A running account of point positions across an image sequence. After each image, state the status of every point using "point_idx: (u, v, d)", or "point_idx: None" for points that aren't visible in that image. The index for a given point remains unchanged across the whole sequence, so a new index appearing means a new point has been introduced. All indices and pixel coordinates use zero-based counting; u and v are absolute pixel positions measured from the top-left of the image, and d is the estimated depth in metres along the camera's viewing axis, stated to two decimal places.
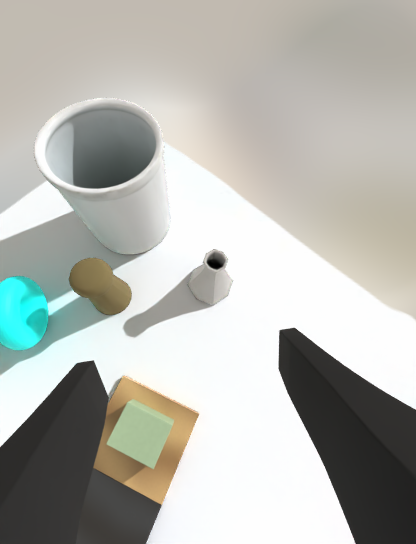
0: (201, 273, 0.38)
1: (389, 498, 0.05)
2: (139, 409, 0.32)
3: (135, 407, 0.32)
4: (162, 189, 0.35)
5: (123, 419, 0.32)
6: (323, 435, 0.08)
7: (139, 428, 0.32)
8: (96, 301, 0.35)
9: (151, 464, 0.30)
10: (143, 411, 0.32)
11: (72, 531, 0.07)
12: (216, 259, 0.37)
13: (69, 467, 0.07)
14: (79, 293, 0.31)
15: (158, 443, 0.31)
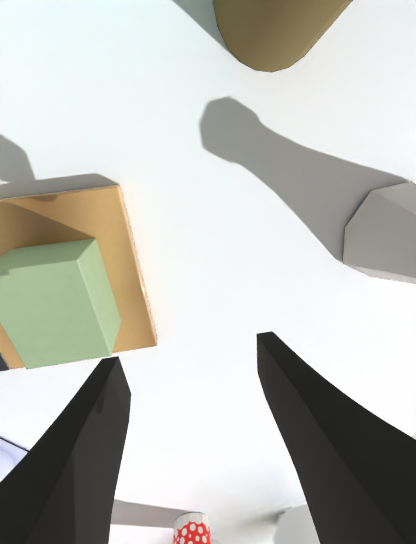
0: None
1: (346, 507, 0.05)
2: (85, 291, 0.14)
3: (82, 281, 0.13)
4: None
5: (41, 274, 0.13)
6: (294, 440, 0.08)
7: (57, 311, 0.14)
8: None
9: (29, 362, 0.15)
10: (89, 299, 0.14)
11: (106, 524, 0.07)
12: None
13: (101, 461, 0.07)
14: None
15: (66, 354, 0.15)
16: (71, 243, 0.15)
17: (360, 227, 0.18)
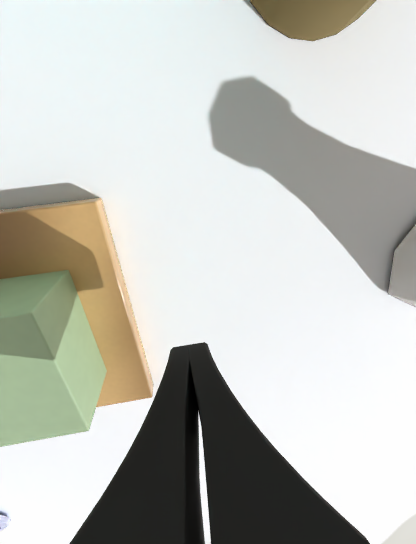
0: None
1: None
2: (47, 354, 0.09)
3: (41, 341, 0.09)
4: None
5: None
6: None
7: (8, 381, 0.10)
8: None
9: None
10: (53, 365, 0.10)
11: (200, 505, 0.07)
12: None
13: (193, 444, 0.07)
14: None
15: (26, 432, 0.11)
16: (33, 278, 0.11)
17: None
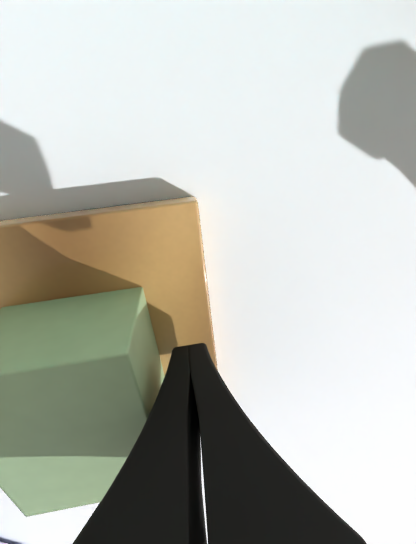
0: None
1: None
2: (138, 403, 0.07)
3: (133, 389, 0.07)
4: None
5: (56, 382, 0.06)
6: None
7: (83, 437, 0.07)
8: None
9: (30, 508, 0.09)
10: (142, 416, 0.07)
11: (202, 505, 0.07)
12: None
13: (195, 443, 0.07)
14: None
15: (95, 493, 0.09)
16: (103, 299, 0.09)
17: None
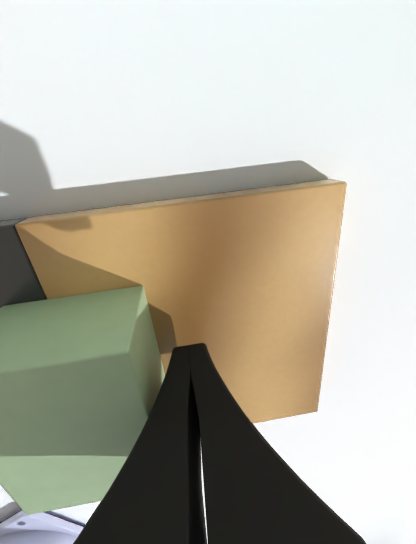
0: None
1: None
2: (139, 401, 0.07)
3: (134, 387, 0.07)
4: None
5: (57, 380, 0.06)
6: None
7: (84, 435, 0.07)
8: None
9: (31, 507, 0.09)
10: (143, 414, 0.07)
11: (202, 505, 0.07)
12: None
13: (195, 443, 0.07)
14: None
15: (96, 492, 0.09)
16: (104, 298, 0.09)
17: None
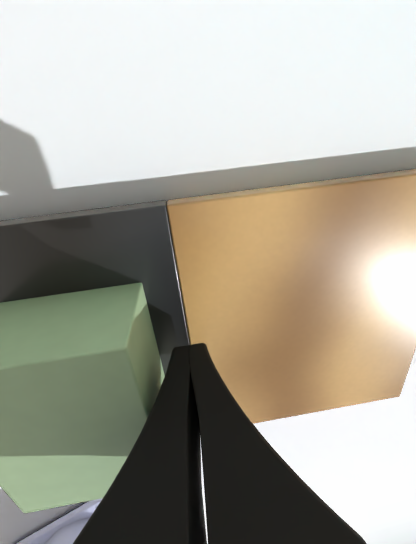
0: None
1: None
2: (137, 398, 0.07)
3: (132, 384, 0.07)
4: None
5: (54, 376, 0.06)
6: None
7: (81, 433, 0.07)
8: None
9: (28, 505, 0.09)
10: (141, 411, 0.07)
11: (202, 505, 0.07)
12: None
13: (194, 444, 0.07)
14: None
15: (94, 490, 0.09)
16: (102, 294, 0.09)
17: None
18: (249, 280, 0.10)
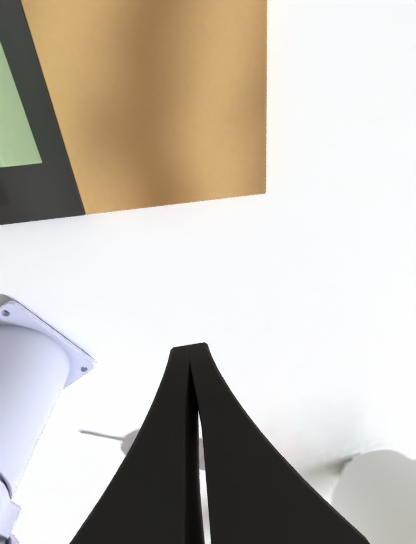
0: None
1: None
2: None
3: None
4: None
5: None
6: None
7: None
8: None
9: None
10: None
11: (200, 505, 0.07)
12: None
13: (193, 444, 0.07)
14: None
15: None
16: None
17: None
18: (86, 13, 0.12)
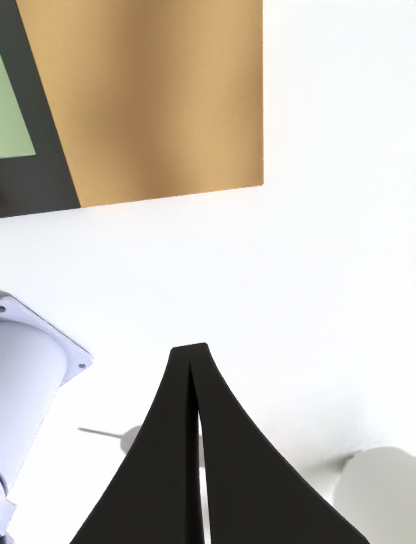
0: None
1: None
2: None
3: None
4: None
5: None
6: None
7: None
8: None
9: None
10: None
11: (200, 505, 0.07)
12: None
13: (193, 444, 0.07)
14: None
15: None
16: None
17: None
18: (79, 1, 0.11)
